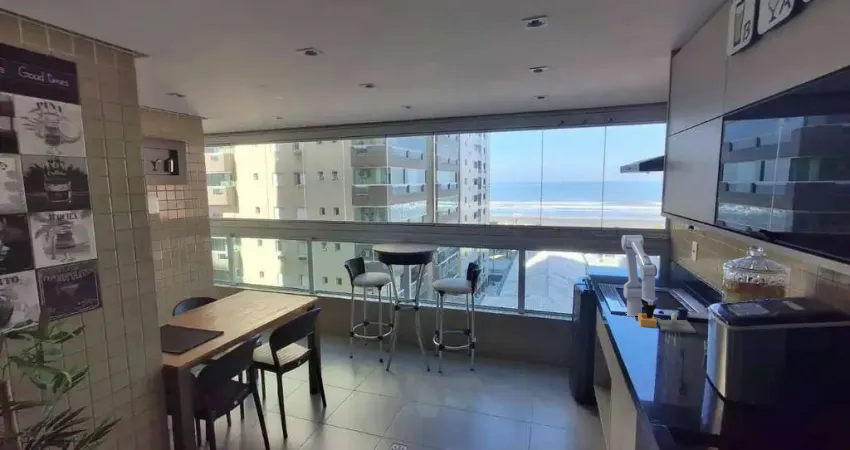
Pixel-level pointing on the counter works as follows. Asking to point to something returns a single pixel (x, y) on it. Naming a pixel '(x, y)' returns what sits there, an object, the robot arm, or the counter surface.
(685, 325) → the keeper plate
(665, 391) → the counter surface
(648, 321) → the orange rectangular frame
